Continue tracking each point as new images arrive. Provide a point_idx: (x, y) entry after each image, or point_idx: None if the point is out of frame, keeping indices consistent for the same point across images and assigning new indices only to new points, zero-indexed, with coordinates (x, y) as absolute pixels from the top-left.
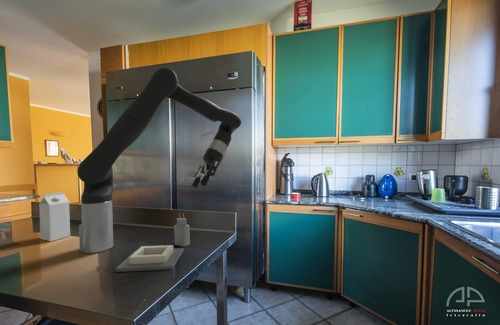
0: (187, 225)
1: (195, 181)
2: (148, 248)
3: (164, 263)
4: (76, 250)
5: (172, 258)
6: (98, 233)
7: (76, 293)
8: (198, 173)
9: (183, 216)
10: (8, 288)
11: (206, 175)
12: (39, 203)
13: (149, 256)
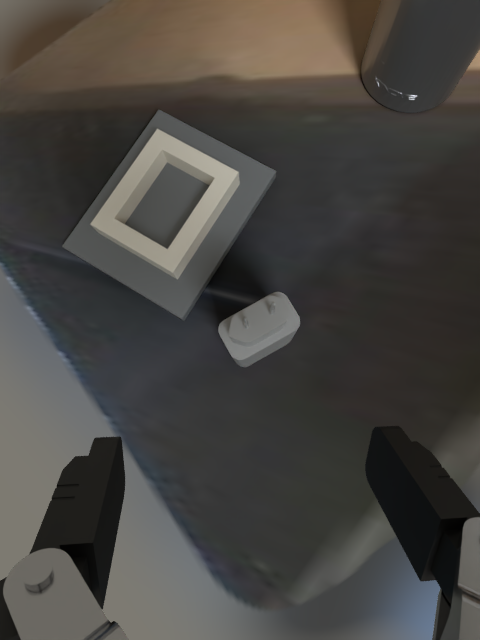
0: (235, 348)
1: (405, 485)
2: (206, 191)
3: (94, 230)
4: None
5: (115, 260)
6: (381, 10)
7: (102, 45)
8: (460, 596)
9: (243, 322)
10: None
11: (25, 566)
12: None
13: (121, 181)
